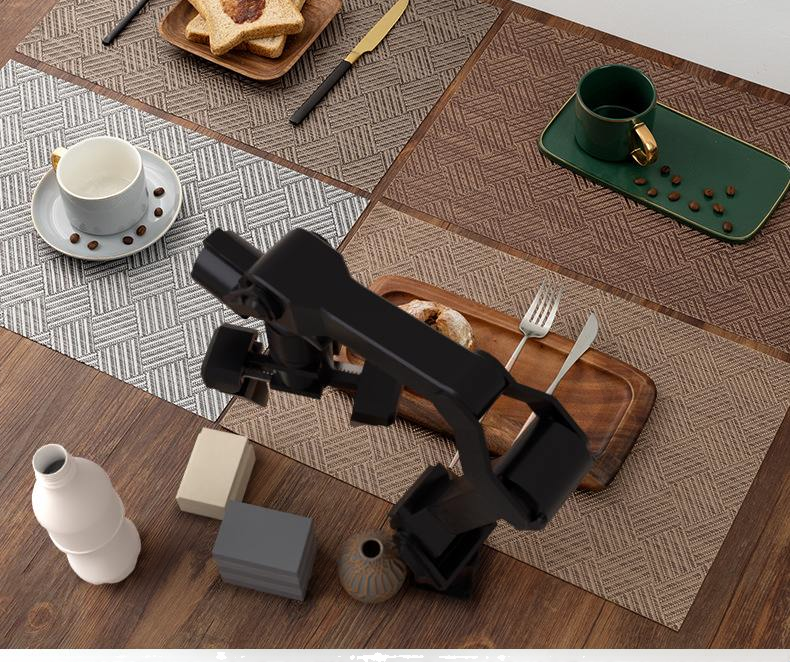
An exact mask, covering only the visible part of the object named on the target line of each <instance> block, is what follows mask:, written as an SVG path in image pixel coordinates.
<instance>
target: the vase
mask: <svg viewBox="0 0 790 662" xmlns="http://www.w3.org/2000/svg"><path fill="white" fill-rule="evenodd" d="M392 535H393V534H391V533H388V532H387V531H384V530H380V529H376V528H368V529H363V530H361V531H358V532H356V533H355V534H353V535H351V536H350V537H349V539H347V540H346V542H344V544H343V545H342V547H341V549H340V552H339V555H338V559H337V574H338V578H339V581H340V583H341V585H342V587H343V589H344V590H345V592H347V594H348V595H349V596H351V597H352V598H353V599H354V600H357V601H359V602H361V603H366V604H380V603H383V602H386V601H387V600H390V599H392V598H393V596H395V595H396V594H397V593H398V592H399V591H400V590H401V588H402V586H403V584H404V582H405V579H406V575H407V570H408V569H407V568H408V565H407V564H406V563H405V562H404V561H403V560H402V558H401V556H400V554H399V552H398V550H397V548H396V546H395V544H394V542H393V538H392Z"/></svg>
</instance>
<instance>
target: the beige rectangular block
mask: <svg viewBox="0 0 790 662" xmlns="http://www.w3.org/2000/svg"><path fill="white" fill-rule="evenodd" d="M200 434H201V432H200V433H198V434H197V438H196V441H195V444H194V446H193V449H192V452H191V454H190V457H189V460H188V462H187V466H186V468H185V471H184V474H183V477H182V480H181V482H180V485H179V488H178V490H177V493H176V496H175V500H176V502H177V504H178V506H179V508H180V511H182V512H186V513H191V514H195V515H199V516H202V517H207V518H212V519H216V520H220V521H223V518H224V515H225V512H226V511H221V510H217V509H213V508H208V507H204V506H200V505H195V504H191V503H187V502H182V501H180V500H179V497H178V496H179V493H180V490H181V487H182V484H183V482H184V479H185V476H186V473H187V471H188V468H189V465H190V462H191V459H192V457H193V454H194V451H195V448H196V446H197V443H198V440H199V437H200ZM255 463H256V453H255V450H254V446H253V444H250V443H248V446H247V449H246V452H245V455H244V458H243V461H242V464H241V467H240V470H239V473H238V476H237V479H236V482H235V485H234V488H233V491H232V495H231V498H230V500H233V501H238V502H242V503H243V499H244V496H245V493H246V490H247V488H248V484H249V481H250V478H251V475H252V472H253V468H254V466H255Z"/></svg>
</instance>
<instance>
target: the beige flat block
mask: <svg viewBox="0 0 790 662" xmlns="http://www.w3.org/2000/svg"><path fill="white" fill-rule="evenodd" d="M200 433H201V434H200V437H199V440H198V443H197V446H196V448H195V451H194V454H193V457H192V459H191V462H190V465H189V468H188V471H187V473H186V476H185V479H184V482H183V484H182V487H181V490H180V493H179V496H178V497H179V500H180V501H182V502H187V503H191V504H195V505H200V506H204V507H208V508H213V509H217V510H221V511H226V509H227V506H228V503H229V500H230V498H231V495H232V491H233V488H234V485H235V482H236V479H237V476H238V473H239V470H240V467H241V464H242V461H243V458H244V455H245V452H246V449H247V446H248V444H250V440H249V437H248V436H246V435H245V436H244V435H240V434H235V433H231V432H226V431H223V430H218V429H213V428H208V427H204V426H203V427H202V429H201V431H200Z"/></svg>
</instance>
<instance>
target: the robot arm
mask: <svg viewBox="0 0 790 662" xmlns="http://www.w3.org/2000/svg"><path fill="white" fill-rule="evenodd" d="M202 245H203V247H202V249H201V250H200V252H199V253H198V255H197V257H196V259H195V261H194V262H193V266H192V270H190V274H189V275H190V278H191V280H192V282H194V283H195V284H197V285H198V286H199V287H201V288H202V289H203V290H204V291H206V292H207V293H208V294H210V295H211V296H213V297H214V298H215V299H216V300H217V301H219V302H220V303H222V304H223V305H224V306H225V307H227V308H228V309H230V310H231V311H232V312H233V313H234V314H235V315H237V316H238V317H240V318H241V319H243V320H244V321H245V320H249V319H250V318H252V319H253V318H254V319H255V320H259V321H262V322H263V324H264V330H265V335H266V339H267V347H268V352H267V354H264V353H263V348H264V343H263V342H261V341H258V339H259V335H260V334H259V330H258V329H256V328H251V327H248V326H242V325H237V324H232V323H229V322H223V323H222V324H221V325H219V326H218V327H216V328H215V329H214V331H213V333H212V336H211V339H210V341H209V344H208V346H207V349H206V352H205V354H204V357H203V360H202V363H201V365H200V377H201V380H202V383H203V385H204V386H205V387H206V388H207V389H211V390H216V391H218V392H219V393H220V394H225V395H228V396H232V397H234V398H237V399H239V400H243V401H246V402H248V403H251V404H254V405H256V406H259V407H261V408H267V406H268V403H269V400H270V394H269V389H270V390H272V391H276V392H277V391H278V392H281V393H286V394H291V395H295V396H300V397H304V398H309V399H314V400H318V401H321V399H322V396H323V393H324V390H325V389H326V388H327V387H328V386H329V387H333V388H337V389H342V390H347V391H350V392H351V391H352V392H355V393H354V398H353V403H352V410H351V415H350V418H349V422H348V423H349V426H350V427H353V428H356V427H362V426H372V427H379V426H382V427H385V428H389V427H390V426H392V425H394V424H396V420H397V416H398V414H399V413H398V412H399V408H400V405H401V400H402V397H403V394H404V390H405V387H407V388H409V389H410V390H412V391H413V392H415V393H416V394H418V395H420V396H421V397H422V398H424V399H426V400H428V401H429V402H430V403H432V405H433V407H434V408H435V409H436V411H437V413H439V415H440V416H441V418H442V419H444V421H445V422H446V423H447V424H448V425H449V427H450V428H451V429H452V433H453V436H454V440H455V445H456V450H457V454H458V458H459V462H460V467H461V471H462V473H463V474H461V475H458V474H456V473H455V472H454V471H453V470H452V469H451V468H447V467H446V466H445V465H444V464H443V463H442V461H438V462H437V463H436V464H435V465H431V464H429V465H428V466H427V467H426V468H425V470H423V471H422V473H421V474H420V475H419V476H418V478H416V480H415V481H413V484H412V485H410V486H409V488H408V489H407V490H406V491H405V492H404V493H403V495H402V496H401V497H400V498H399V499H398V500H397V502H396V503H394V505H393V506H392V507H391V509H389V511H388V512H387V513H386V516H388V517H389V518H390V520H389V521H388V523H389V528H390V529H391V530H392V531H394V532H393V534H391V535H392V538H393V542H394V544H395V546H396V548H397V550H398V552H399V554H400V556H401V558H402V560H403V561H404V562H405V563H406V564H407V567H408V568H410V569H411V571H410V577H409V580H408V586H409V588H410V589H413V590H415V591H420V592H425V593H430V594H433V595H438V596H441V597H445V598H446V597H447V598H450V599H454V600H457V601H463V602H470V601H471V600H472V597H473V592H474V586H475V581H476V576H477V571H478V567H479V562H480V556H481V552H482V546H483V544H484V543H485V542H486V540H487V539H488V538H489V537H490V535H491V534H492V533H493V532H494V530H495V529H496V528H497V527H498V526H499V523H498V521H501V520H503V521H504V522H505V523H507V524H508V525H510V526H511V527H512V528H514V529H515V530H516V531H521V532H542V531H543V530H545V529H546V528H547V526H548V525H549V524H550V523H551V521H552V520H553V519H554V517H555V516H556V515H557V513H558V512H559V511H560V510H561V509H562V507H563V506H564V505H565V503H566V502H567V501H568V500H569V498H571V495H573V493H574V492H575V491H576V489H577V488H578V487H579V485H580V484H581V483H582V482H583V481H584V479H585V478H586V477H587V475H588V474H589V473H590V472H591V470H592V469H593V468H594V467H595V465H596V462H597V461H596V456H595V455H593V454H592V453H591V452H590V450H589V448H590V447H591V442H590V439H589V437H588V436H587V434H586V433H585V431H584V430H583V429H582V428H581V427H580V426H579V424H578V423H577V422H576V420H575V419H574V418H573V417H572V415H571V414H570V413H569V412H568V410H567V409H566V407H564V406H563V404H562V403H561V402H560V401H559V399H558V398H557V397H556V396H555V395H553V394H550V393H547V392H545V391H542V390H540V389H537V388H534V387H531V386H529V385H526V384H523V383H519V382H518V381H517V380H516V379H515V378H514V376H513V375H512V374H511V373H510V372H509V370H508V369H507V368H506V367H505V365H503V364H502V363H501V362H500V360H499V359H498V358H496V357H495V356H494V355H493V354H491V353H490V352H488V351H486V350H484V349H479V348H476V349H474V350H471V349H469V348H468V347H466V346H465V345H462V344H461V343H459V342H458V341H456V340H454V339H453V338H451V337H450V336H448V335H446V334H444V333H443V332H441V331H439V330H438V329H436V328H434V327H433V326H431V325H429V324H428V323H426V322H424V321H423V320H421V319H420V318H417V316H415V315H413V314H411V313H410V312H408V311H406V310H405V309H403V308H402V307H400V306H398V305H397V304H394V303H393V302H392V301H390V300H388V299H386V298H385V297H383V296H381V295H380V294H378V293H376V292H375V291H373V290H372V289H370V288H369V287H367V286H365V285H364V284H363V283H361V282H359V281H358V280H357V279H355V278H353V277H352V275H351V272H350V270H349V267H348V265H347V263H346V260H345V258H344V255H343V254H342V252H340V251H338V250H337V249H336V248H335V247H333V245H332V244H331V243H330V241H328V239H326V238H325V237H324V236H323V235H321V234H320V233H318V232H317V231H313V230H308V229H306V228H302V227H295V228H294V229H291V230H289V231H288V232H287V233H285V234H284V235H283V236H282V237H281V238H280V239H279V240H278V241H276V243H275V244H274V245H272V246H271V247H270V248H269V249H268V250H266V251H265V252H263V251H262V250H260V249H259V248H257V247H256V246H255V245H253V244H252V243H250V242H249V241H248V240H246V239H245V238H243V237H242V236H241V235H239V234H238V233H237V232H236V231H233V230H230V229H229V230H223V229H222V228H221V227H220V226H217V227H216V228H214V230H213V231H211V232H210V233H209V234H208V235H207V236H206V237H205V238H203V240H202ZM343 346H344V347H345V348H347V349H348V350H350V351H351V352H353V353H354V354H355V355H358V356H359V357H361V358H362V359H364V363H363V366H361V365H358V364H352V363H349V362H348V363H347V362H345V361H344V362H343V361H338V360H335V359H334V357H335V356H337V357H340V354H341V351H342V348H343ZM268 386H269V387H268ZM502 395H503V396H505V397H508V398H511V399H513V400H516V401H519V402H522V403H524V404H526V405H527V406H528V407H529V410H531V412H533V414H534V415H535V417H534V418H533V419H532V420H531V421H530V422H529V423H528V425H527V426H526V427H525V428H524V429H523V431H522V432H521V433H520V434H519V435H518V437H516V438H515V440H514V441H513V442H512V443H511V445H510V446H509V447H508V449H507V450H506V451H505V452H504V453H503V454H502V455H500V456H497V458H495V459H492V460H491V457H490V453H489V452H490V451H489V448H488V444H487V439H486V435H485V430H484V427H483V426H482V423H481V422H480V421H481V419H482V418H483V417H484V416H485V415H486V413H488V412H489V410H490V409H491V408H492V407H493V405H495V404H496V402H497V401H498V400H499V399H500V397H502ZM413 582H414V583H415V584H412V583H413ZM465 595H468V597H466V596H465Z"/></svg>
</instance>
